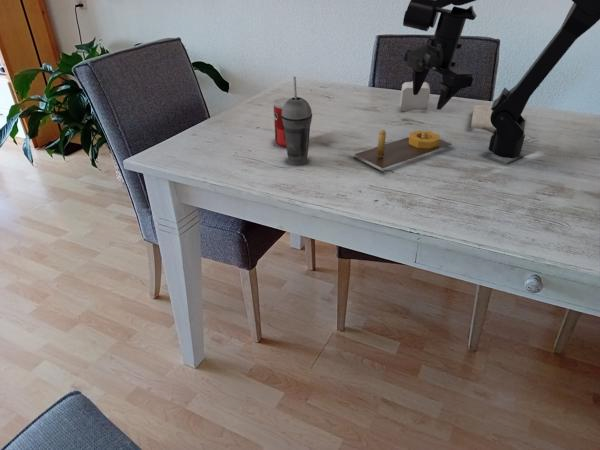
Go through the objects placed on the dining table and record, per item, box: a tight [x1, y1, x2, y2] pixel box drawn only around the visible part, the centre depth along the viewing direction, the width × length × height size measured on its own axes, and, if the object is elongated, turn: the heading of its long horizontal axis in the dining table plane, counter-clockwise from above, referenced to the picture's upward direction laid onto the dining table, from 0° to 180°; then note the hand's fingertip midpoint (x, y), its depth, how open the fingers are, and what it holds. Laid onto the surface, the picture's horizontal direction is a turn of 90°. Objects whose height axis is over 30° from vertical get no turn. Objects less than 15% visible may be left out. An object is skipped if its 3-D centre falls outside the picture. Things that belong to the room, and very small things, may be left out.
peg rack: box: [353, 129, 452, 174], centre depth 111 cm, size 10×24×8 cm, turn 125°
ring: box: [408, 130, 441, 148], centre depth 116 cm, size 7×7×2 cm
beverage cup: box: [281, 76, 313, 166], centre depth 105 cm, size 7×7×20 cm
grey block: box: [399, 80, 431, 113], centre depth 141 cm, size 8×10×10 cm
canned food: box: [273, 97, 292, 149], centre depth 118 cm, size 8×8×11 cm
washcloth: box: [470, 104, 497, 133], centre depth 130 cm, size 12×18×3 cm, turn 159°
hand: (426, 101), depth 112 cm, fingers open, 9 cm apart
